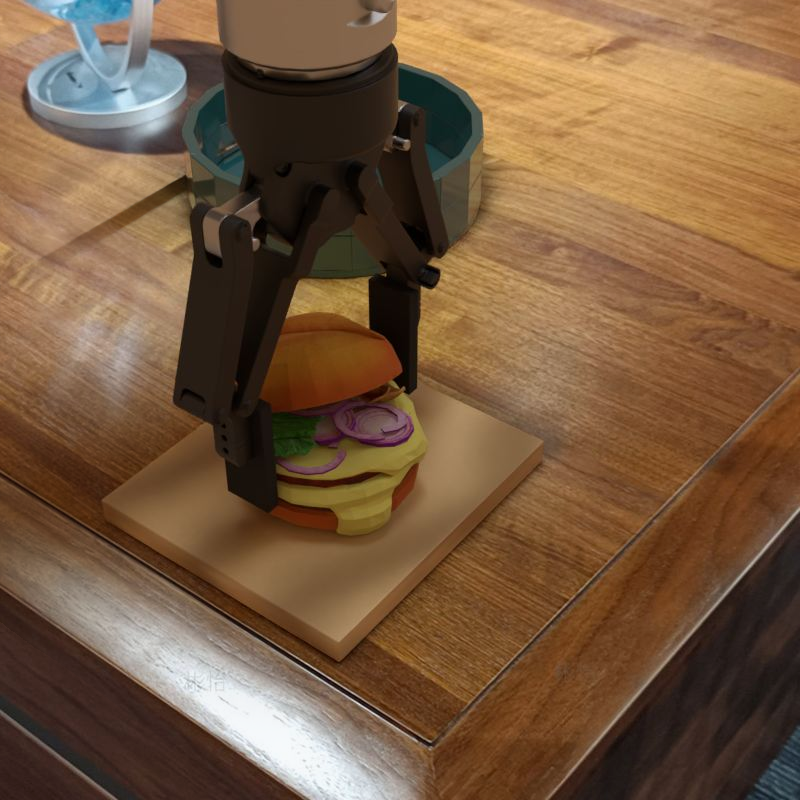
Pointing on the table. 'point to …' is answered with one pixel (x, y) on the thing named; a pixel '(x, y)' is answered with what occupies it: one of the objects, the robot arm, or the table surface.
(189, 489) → the board
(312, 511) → the cheeseburger
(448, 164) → the bowl
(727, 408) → the table surface
